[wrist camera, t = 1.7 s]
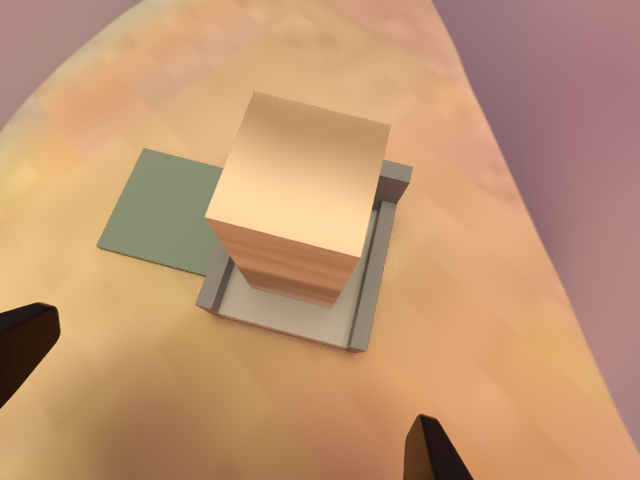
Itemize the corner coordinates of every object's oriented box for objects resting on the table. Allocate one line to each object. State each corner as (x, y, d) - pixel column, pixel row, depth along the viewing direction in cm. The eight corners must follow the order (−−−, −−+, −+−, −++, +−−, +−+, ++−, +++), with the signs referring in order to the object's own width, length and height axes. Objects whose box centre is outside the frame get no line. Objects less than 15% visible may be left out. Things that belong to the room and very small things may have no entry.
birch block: (331, 308, 19) (360, 257, 10) (250, 287, 20) (204, 217, 10) (350, 232, 21) (390, 125, 11) (274, 213, 21) (253, 91, 12)
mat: (210, 277, 22) (208, 276, 21) (99, 248, 22) (96, 246, 22) (247, 177, 24) (246, 174, 24) (146, 151, 24) (143, 147, 24)
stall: (356, 353, 21) (376, 349, 15) (211, 313, 21) (179, 295, 15) (385, 214, 24) (412, 167, 18) (258, 181, 24) (245, 124, 18)
